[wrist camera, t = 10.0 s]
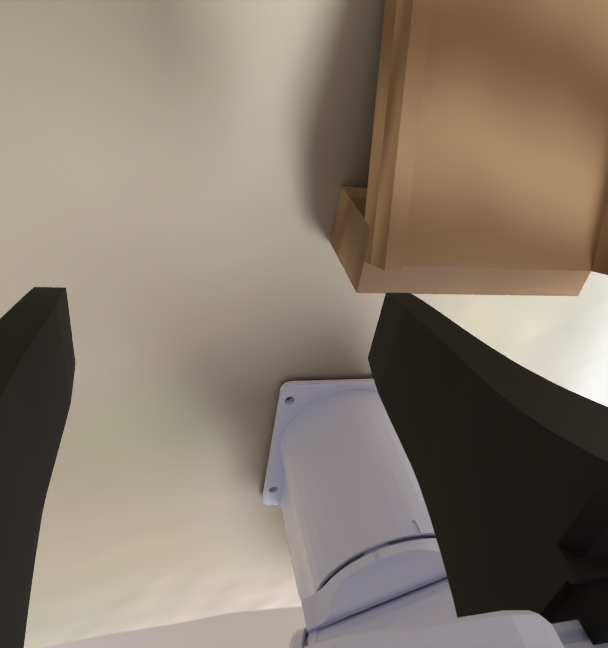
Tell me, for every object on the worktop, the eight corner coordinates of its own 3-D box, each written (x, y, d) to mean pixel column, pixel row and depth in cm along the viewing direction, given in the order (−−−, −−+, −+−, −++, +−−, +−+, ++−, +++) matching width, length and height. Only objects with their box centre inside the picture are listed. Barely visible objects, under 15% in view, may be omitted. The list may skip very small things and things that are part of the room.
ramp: (516, 241, 26) (605, 320, 20) (324, 232, 23) (371, 320, 18) (673, -136, 18) (881, -161, 13) (408, -209, 15) (532, -278, 10)
